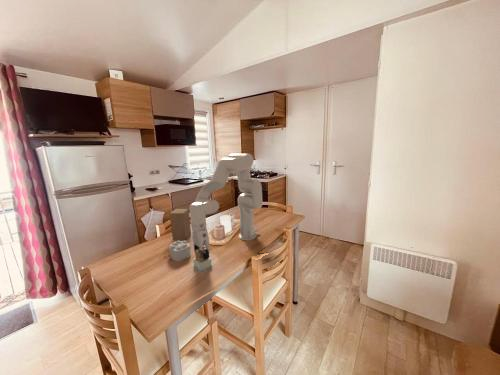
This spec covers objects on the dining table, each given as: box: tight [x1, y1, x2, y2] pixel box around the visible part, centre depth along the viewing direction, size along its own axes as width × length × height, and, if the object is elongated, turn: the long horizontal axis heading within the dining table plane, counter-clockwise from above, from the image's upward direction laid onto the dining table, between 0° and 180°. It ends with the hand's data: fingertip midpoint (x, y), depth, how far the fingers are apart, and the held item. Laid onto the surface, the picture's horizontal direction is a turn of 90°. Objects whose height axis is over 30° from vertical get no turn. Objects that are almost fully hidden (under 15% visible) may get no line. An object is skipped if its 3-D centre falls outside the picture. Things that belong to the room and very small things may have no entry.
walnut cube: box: [194, 248, 209, 262], centre depth 110 cm, size 5×5×5 cm
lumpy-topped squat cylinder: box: [168, 240, 192, 262], centre depth 122 cm, size 10×13×9 cm
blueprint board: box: [191, 263, 215, 273], centre depth 113 cm, size 16×14×1 cm
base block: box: [192, 256, 213, 271], centre depth 111 cm, size 7×7×4 cm
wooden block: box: [169, 208, 192, 241], centre depth 146 cm, size 10×10×20 cm
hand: (201, 255), depth 110 cm, fingers open, 9 cm apart
